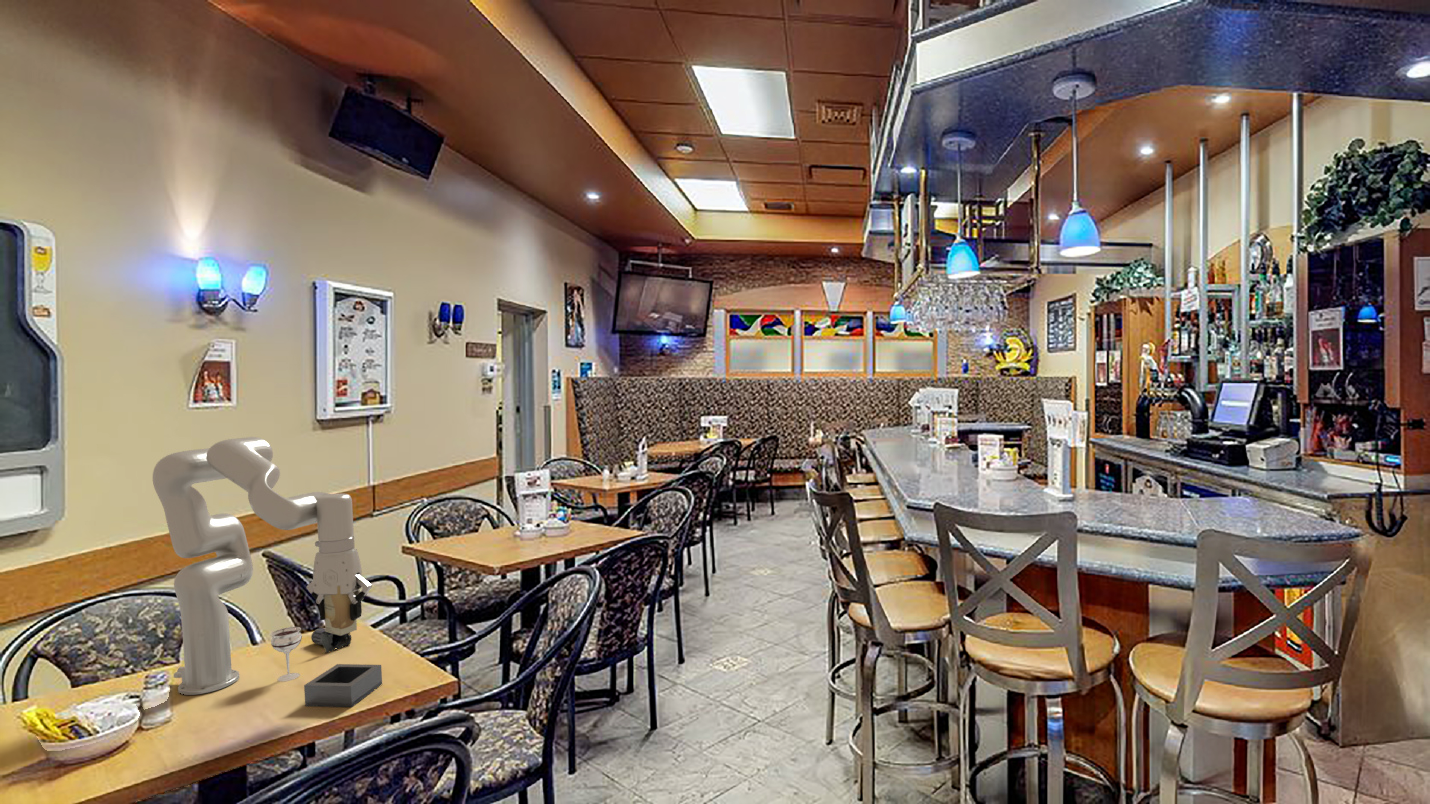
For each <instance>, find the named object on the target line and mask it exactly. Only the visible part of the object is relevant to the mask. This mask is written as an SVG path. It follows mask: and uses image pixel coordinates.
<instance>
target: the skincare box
mask: <svg viewBox="0 0 1430 804" xmlns="http://www.w3.org/2000/svg"><path fill="white" fill-rule="evenodd" d="M354 594H355V596H356V592H354ZM324 604H325V619H324V623H325V624H324V626H325V627H324V629H325V631H326V632H329V633H332V634H336V635H340V636H341V635H344V634H347V633H349V632H350V633H352V632H354V631H357V630H358V629H357V628H358V625H357V621H358V620H357V619H355V620H351V619H350V604H352V602H351V600H350V598H349V596H348V595H341V594H340V586H337V594H336V595H324Z"/></svg>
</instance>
